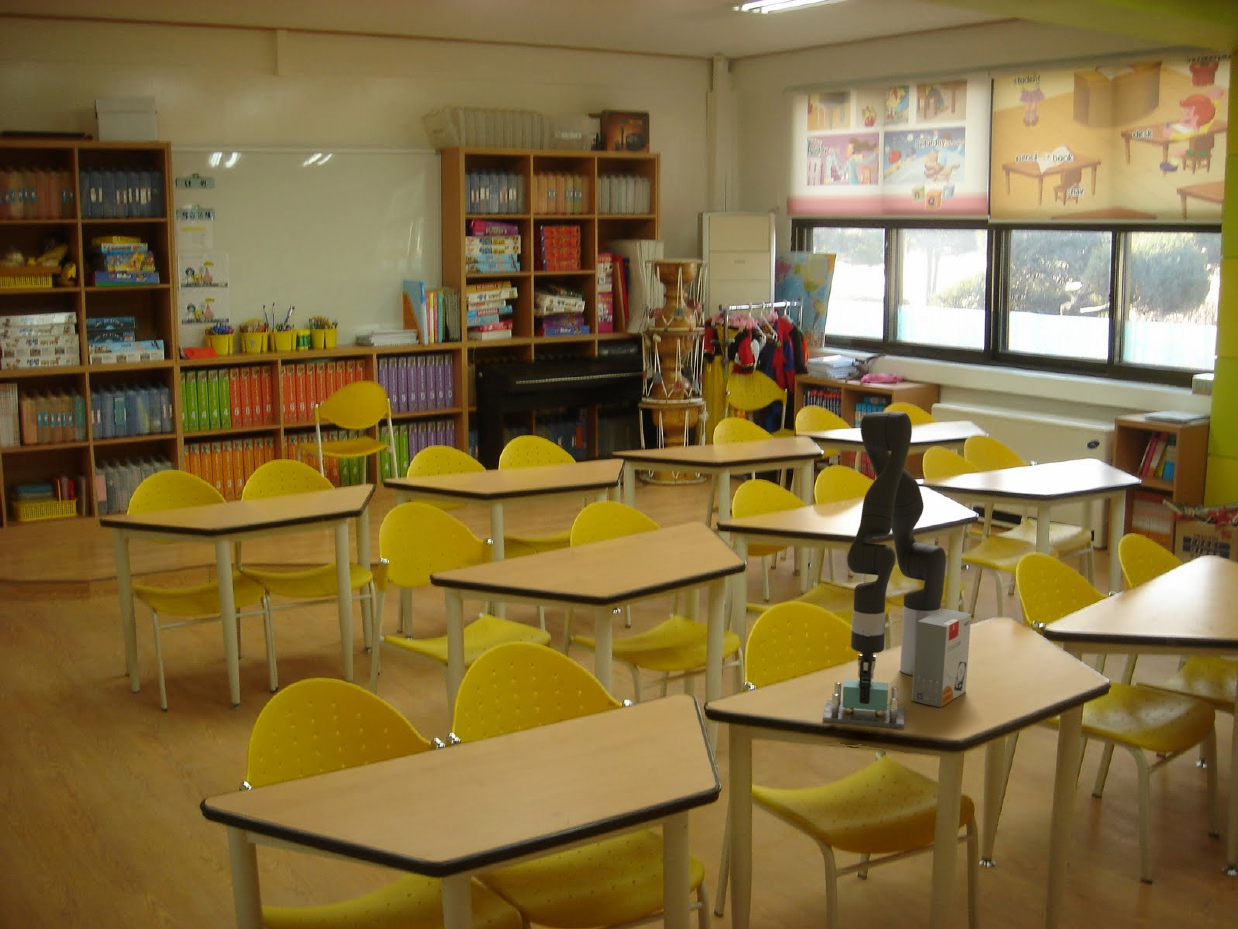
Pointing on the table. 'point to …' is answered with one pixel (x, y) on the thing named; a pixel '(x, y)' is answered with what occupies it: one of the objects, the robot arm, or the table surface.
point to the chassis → (864, 712)
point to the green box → (876, 695)
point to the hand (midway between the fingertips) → (865, 697)
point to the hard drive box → (941, 657)
